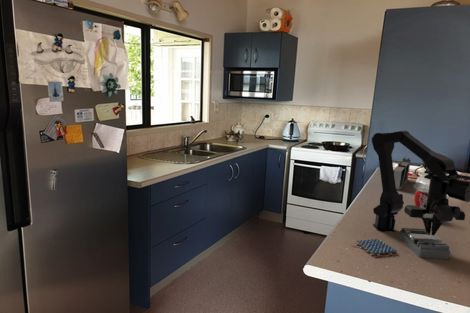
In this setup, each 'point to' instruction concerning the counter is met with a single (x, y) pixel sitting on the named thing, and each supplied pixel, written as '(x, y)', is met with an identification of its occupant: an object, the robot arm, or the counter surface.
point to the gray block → (425, 238)
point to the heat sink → (424, 245)
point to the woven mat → (376, 248)
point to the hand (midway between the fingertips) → (430, 235)
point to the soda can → (420, 198)
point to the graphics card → (401, 173)
